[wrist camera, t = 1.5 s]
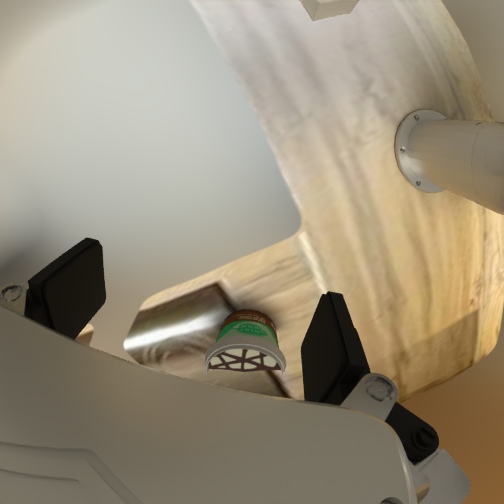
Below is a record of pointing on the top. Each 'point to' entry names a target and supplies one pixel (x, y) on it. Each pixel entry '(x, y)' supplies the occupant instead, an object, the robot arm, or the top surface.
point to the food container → (246, 344)
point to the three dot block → (327, 8)
